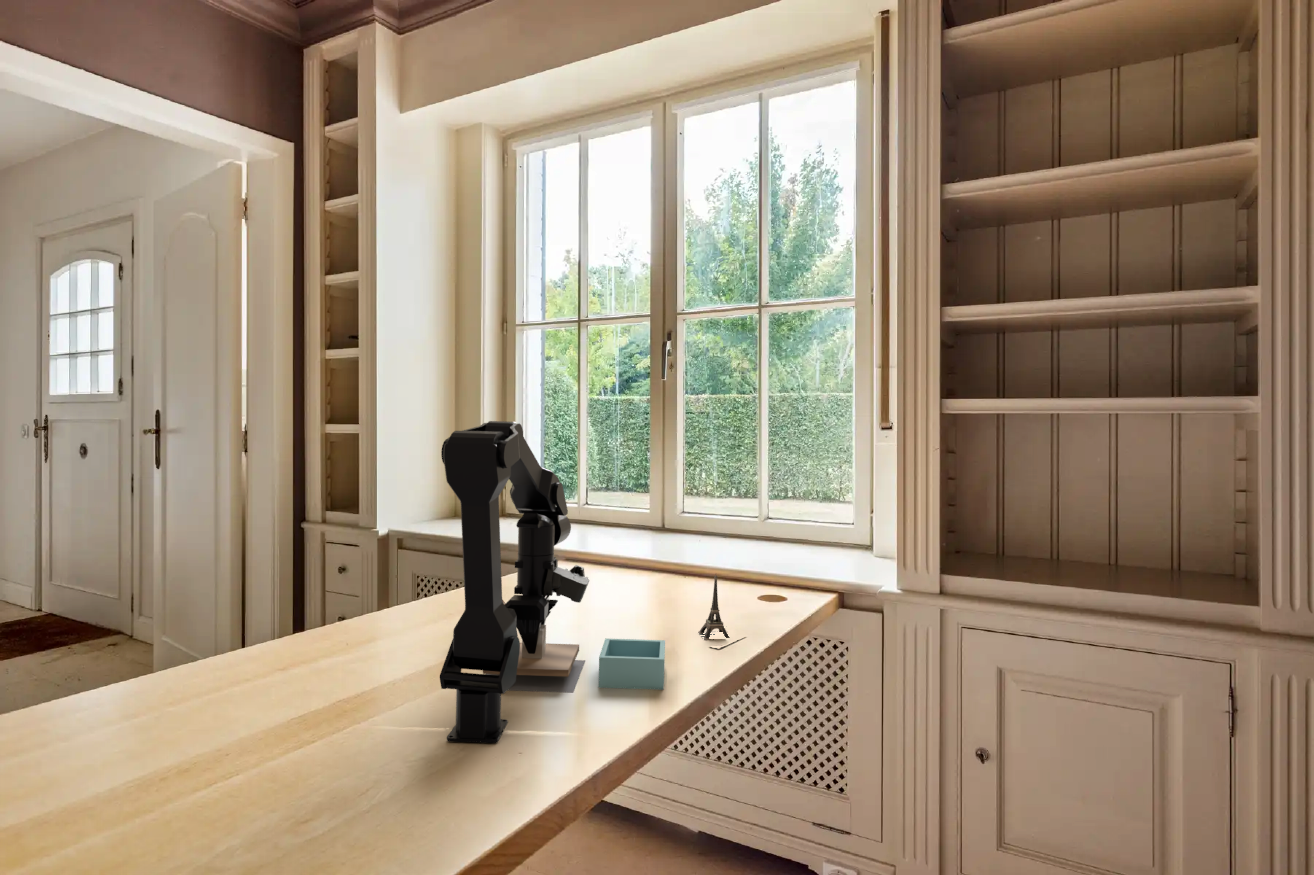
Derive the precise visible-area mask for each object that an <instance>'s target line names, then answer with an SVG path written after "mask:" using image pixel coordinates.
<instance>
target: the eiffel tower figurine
mask: <svg viewBox="0 0 1314 875" xmlns="http://www.w3.org/2000/svg"><path fill="white" fill-rule="evenodd" d="M713 579H714V580H713V581H714V583H713V593H712V602H711V606H710V611H709V615H708V618H706V619H705V623H704V624H703V625H702V627H701V628H700V630H698V633H699V634H698V633H697V634H698V635H699V636H700V635H705V636H700V637H701V638H702V637H704V640H703V641H715V640H714V639H713V640H711V639H709V637H710V635H712V634H710V633H711V632H713V630H717V629H718V631H719V632H723V634H724V636H725V637H726V638H730V637H729V636H728V634H727V632H728V631H727V630H726V628H724V626H725V625H724V622H723V621H722V617H721V614H720V607H719V600H718V599H719V597H718V596H719V595H718V579H719V578H718V576H717V574H715V575H714V576H713ZM704 632H706V633H705V634H703V633H704ZM713 635H715V634H713Z"/></svg>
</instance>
